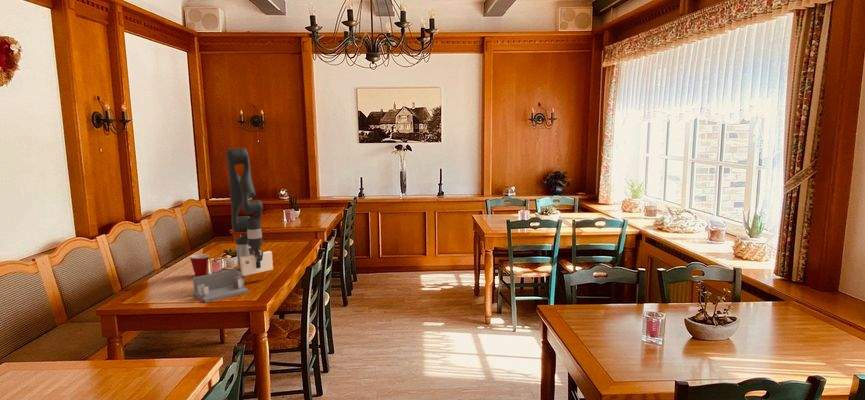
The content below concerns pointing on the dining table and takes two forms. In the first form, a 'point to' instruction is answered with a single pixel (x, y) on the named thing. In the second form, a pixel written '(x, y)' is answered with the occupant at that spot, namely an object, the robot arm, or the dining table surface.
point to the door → (250, 263)
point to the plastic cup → (199, 264)
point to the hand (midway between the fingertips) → (257, 267)
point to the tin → (232, 269)
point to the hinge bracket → (218, 286)
